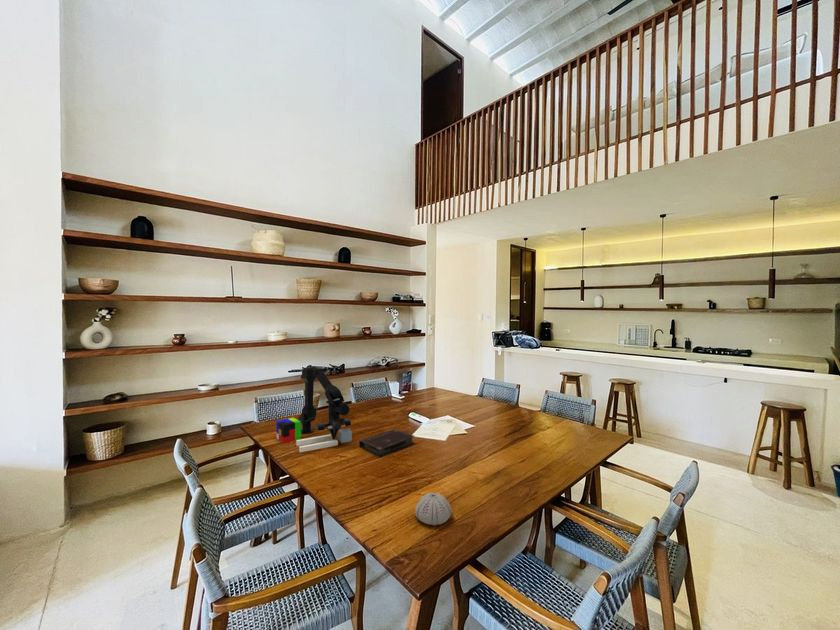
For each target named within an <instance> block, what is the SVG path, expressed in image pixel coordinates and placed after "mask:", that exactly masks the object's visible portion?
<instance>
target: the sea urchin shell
mask: <svg viewBox="0 0 840 630" xmlns="http://www.w3.org/2000/svg"><path fill="white" fill-rule="evenodd" d="M451 507H452V506H451V504H450V503H449V501H448V500H447V499H446V497H445V496H444V495H442V494H440V493H438V492H429V493H425V494H424V495H423V496H421V498H420V499H419V500H418V501H417V503H416V505H415V507H414V508H415V509H414V510H415V511H414V514H415V517H416V518H417V519H418V520H419V522H420V521H421V523H424V524H427V525H432V526H438V525H443V524H444V523H446V522H447V521H448V519H450V517H451V516H452V508H451Z"/></svg>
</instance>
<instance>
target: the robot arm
mask: <svg viewBox="0 0 840 630" xmlns="http://www.w3.org/2000/svg"><path fill="white" fill-rule="evenodd" d="M301 375H302V379H303V381H304V406H303V407H302V409H301V413H300V415H299V417H298V418H297V420H299V421H301V435H302V434H303V435H304V434H308V433H310V434H311V433H314V430H313V428H312V427H313V426H312V425H313V424H312V423H313V422H314V421H316V416H317V415H318V413H317V410H318V409H317V408H316V407H315V406H314V391H315V390H314V385H315V384H314V383H315V381H316V380H318V382H319V384H320V385H321V387H322V388H323V389H324V396H325V398H326V399H327V400H326V402H325V403H326V404H327V405H328V406H327V407H328V410H327V411H328V412H327V415H328V420H327V423H324V422H323V421H321V422H316V424H315V429H316V431H317V432H320V431H324V430H325V429H327V431H329V433H330V434H331V436H332V439H333V440H336V436H337V435H338V430H342V426H345V427H350V426H352V421H351V420H350V419H349V418H344V417H343V418H340V415H341V416H347V415H348V414H349V412H350V410H351V409H350V406H349V405H347V402H345V398H344V397H343V394H342V392H341V390H340V389H339V388H338V387H337V386H335V385H334V384H333V383H332V382H331V380H330V379H329V378H328V376H327V374H326V373H325V372H324V369H323V368H322V367H316V366H308V367H304V368H302V370H301Z"/></svg>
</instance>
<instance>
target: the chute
mask: <svg viewBox="0 0 840 630" xmlns="http://www.w3.org/2000/svg"><path fill="white" fill-rule="evenodd" d="M295 441H296V442H295V445H296V447H298V449H299V450H298V452H299V453H305V452H310V451H314V450H315V451H316V450H320V449H326V448H330V447H331V448H332V447H335V446H336V447H337V446H338V445H339V440H338V439H334V440H333V439H332V436H331V433H330V434H325V435H318V436H312V437H306V438H301V439H297V440H295Z"/></svg>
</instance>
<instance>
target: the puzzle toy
mask: <svg viewBox="0 0 840 630" xmlns="http://www.w3.org/2000/svg"><path fill="white" fill-rule="evenodd" d="M301 430H302V423H301V421H299V420H298V418H295V417H289V418H285V419H282V420H277V421H276V430H275V431H276V439H277V440H278V441H280V442H281V443H283V444H287V443H289V442H293V441H296V440H301V439H302V432H301Z"/></svg>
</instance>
